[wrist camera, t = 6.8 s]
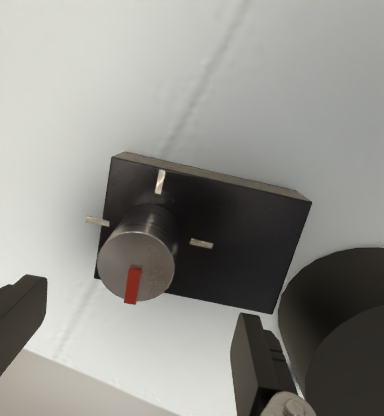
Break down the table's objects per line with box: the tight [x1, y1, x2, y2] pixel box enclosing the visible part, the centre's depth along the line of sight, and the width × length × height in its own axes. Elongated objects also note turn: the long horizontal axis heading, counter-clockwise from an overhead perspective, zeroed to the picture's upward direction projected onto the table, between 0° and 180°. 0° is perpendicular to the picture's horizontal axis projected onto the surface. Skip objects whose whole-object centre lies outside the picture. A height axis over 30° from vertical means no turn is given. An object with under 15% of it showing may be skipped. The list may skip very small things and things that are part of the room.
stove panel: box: [86, 152, 312, 314], centre depth 19 cm, size 13×8×3 cm, turn 77°
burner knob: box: [97, 204, 180, 305], centre depth 16 cm, size 4×4×5 cm
